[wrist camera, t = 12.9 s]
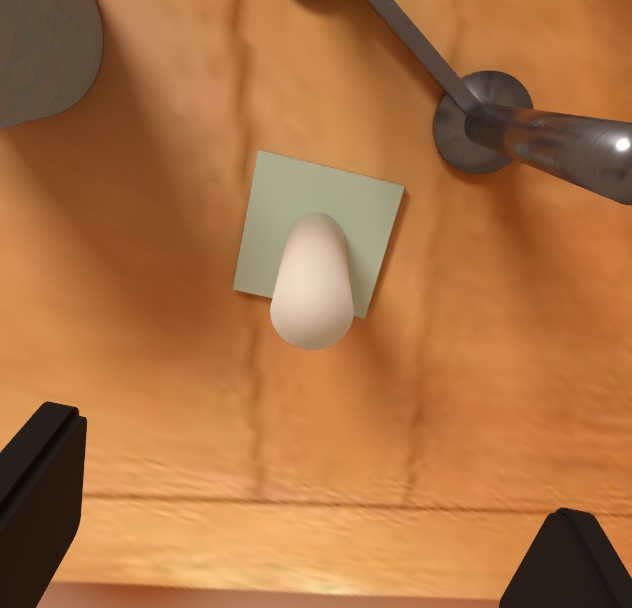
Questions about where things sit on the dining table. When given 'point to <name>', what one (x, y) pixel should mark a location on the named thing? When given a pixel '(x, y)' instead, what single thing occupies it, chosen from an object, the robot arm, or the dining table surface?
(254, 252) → the pad
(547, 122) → the upright post stand
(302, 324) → the dowel
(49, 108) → the grey teal cup
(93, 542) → the dining table surface
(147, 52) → the dining table surface
